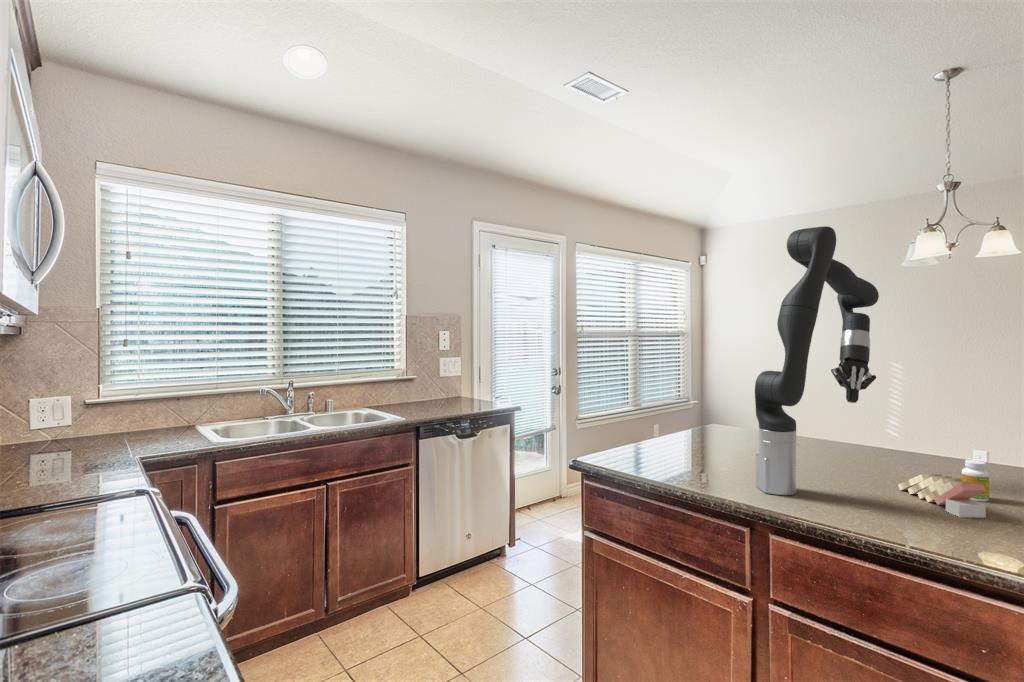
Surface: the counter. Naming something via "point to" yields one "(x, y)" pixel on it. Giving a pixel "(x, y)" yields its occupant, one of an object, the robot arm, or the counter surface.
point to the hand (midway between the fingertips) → (852, 402)
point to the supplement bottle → (976, 477)
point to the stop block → (966, 508)
